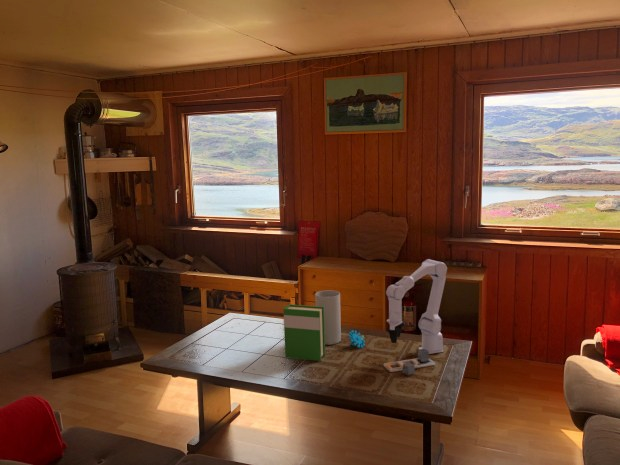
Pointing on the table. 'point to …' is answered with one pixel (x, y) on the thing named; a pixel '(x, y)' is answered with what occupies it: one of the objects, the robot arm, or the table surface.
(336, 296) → the cylinder vase
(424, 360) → the dark square post
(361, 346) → the gear
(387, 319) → the robot arm
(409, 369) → the grey wood-grain cube
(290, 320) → the hardback book
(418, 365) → the square hole plate
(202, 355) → the table surface
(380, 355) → the table surface
